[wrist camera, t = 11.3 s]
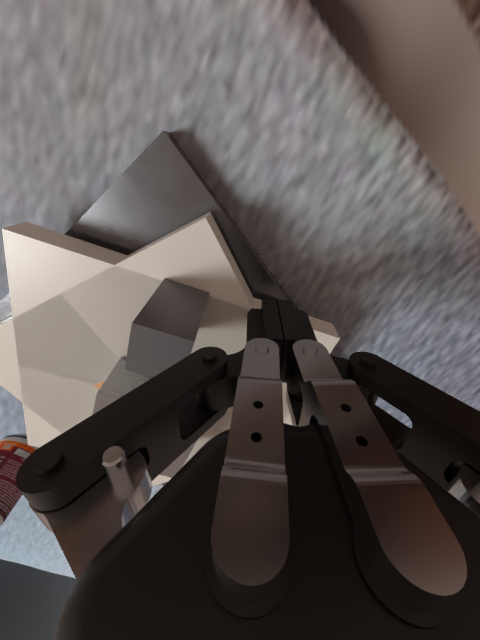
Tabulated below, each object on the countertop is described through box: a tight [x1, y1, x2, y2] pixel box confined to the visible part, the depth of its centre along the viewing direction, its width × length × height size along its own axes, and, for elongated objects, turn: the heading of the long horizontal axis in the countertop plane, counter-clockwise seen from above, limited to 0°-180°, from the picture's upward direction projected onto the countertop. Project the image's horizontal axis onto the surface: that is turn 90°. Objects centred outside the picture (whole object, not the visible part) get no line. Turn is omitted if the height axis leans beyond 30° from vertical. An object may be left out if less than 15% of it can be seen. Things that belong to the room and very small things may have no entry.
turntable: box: [0, 212, 340, 486], centre depth 17 cm, size 26×26×6 cm
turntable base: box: [0, 131, 297, 485], centre depth 21 cm, size 22×22×1 cm
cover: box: [92, 357, 197, 478], centre depth 16 cm, size 6×6×4 cm
